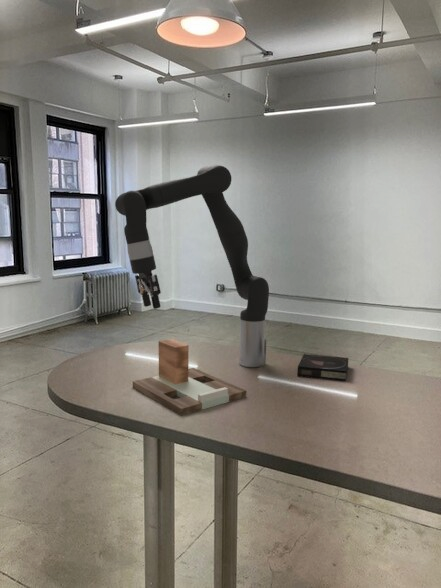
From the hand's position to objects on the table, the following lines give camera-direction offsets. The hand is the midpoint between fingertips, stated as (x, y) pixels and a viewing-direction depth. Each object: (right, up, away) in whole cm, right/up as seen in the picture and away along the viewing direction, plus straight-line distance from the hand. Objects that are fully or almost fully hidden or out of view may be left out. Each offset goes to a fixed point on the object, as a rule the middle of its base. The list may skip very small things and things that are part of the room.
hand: (152, 307), depth 154 cm
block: (+6, -24, +6) cm, 25 cm away
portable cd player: (+59, -25, +23) cm, 67 cm away
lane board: (+11, -27, 0) cm, 29 cm away
